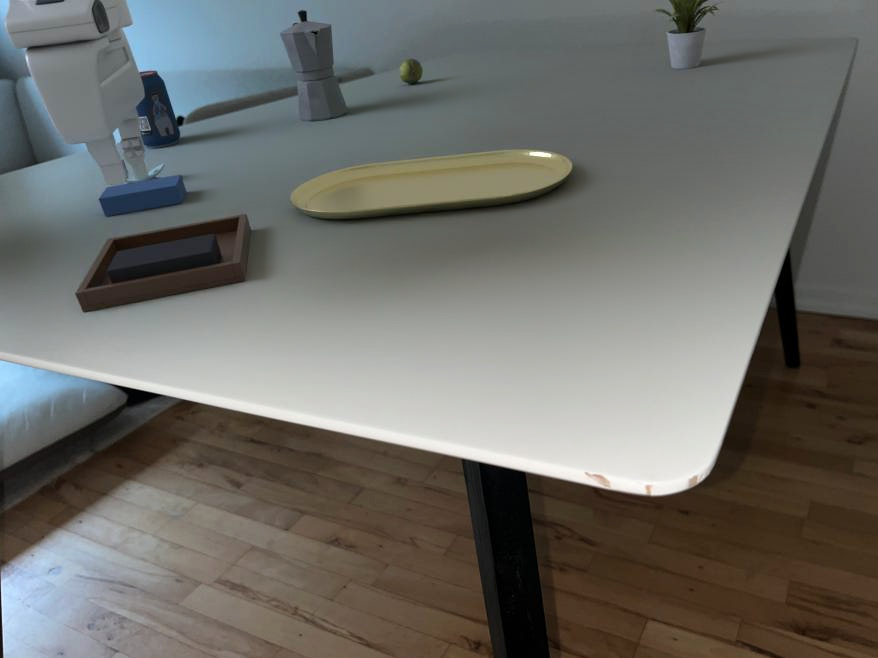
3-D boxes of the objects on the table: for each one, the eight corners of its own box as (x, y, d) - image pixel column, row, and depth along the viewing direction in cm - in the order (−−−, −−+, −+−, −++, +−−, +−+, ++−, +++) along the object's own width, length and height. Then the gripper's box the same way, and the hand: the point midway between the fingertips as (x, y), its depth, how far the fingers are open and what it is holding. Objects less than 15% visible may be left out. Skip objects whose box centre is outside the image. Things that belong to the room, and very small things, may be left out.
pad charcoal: (115, 293, 73) (106, 270, 72) (125, 272, 78) (117, 251, 77) (218, 274, 75) (210, 251, 74) (221, 254, 80) (214, 233, 78)
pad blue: (105, 216, 98) (98, 198, 97) (113, 204, 103) (106, 186, 102) (182, 203, 100) (176, 185, 98) (186, 191, 104) (181, 174, 103)
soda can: (156, 139, 137) (134, 71, 131) (189, 137, 135) (168, 68, 129) (134, 150, 131) (110, 79, 125) (169, 148, 130) (145, 76, 123)
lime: (398, 86, 156) (394, 61, 153) (412, 81, 159) (408, 56, 156) (414, 86, 153) (410, 61, 151) (428, 81, 157) (425, 56, 154)
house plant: (710, 75, 131) (714, -28, 122) (636, 75, 138) (635, -23, 129) (734, 59, 140) (740, -38, 132) (664, 59, 148) (666, -32, 139)
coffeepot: (358, 115, 135) (338, 7, 126) (308, 126, 132) (284, 16, 123) (334, 103, 148) (314, 4, 138) (288, 113, 144) (264, 12, 135)
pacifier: (169, 186, 108) (169, 175, 113) (155, 144, 105) (155, 134, 110) (117, 197, 106) (118, 185, 111) (100, 154, 103) (103, 144, 108)
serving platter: (578, 202, 82) (578, 188, 82) (275, 231, 86) (271, 218, 85) (568, 155, 98) (567, 143, 98) (312, 180, 102) (310, 169, 101)
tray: (82, 312, 72) (74, 293, 71) (113, 254, 85) (107, 238, 84) (245, 280, 74) (239, 262, 73) (251, 229, 87) (246, 213, 86)
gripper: (65, 6, 72) (114, 147, 79) (-4, 27, 55) (67, 206, 62) (132, -3, 73) (175, 138, 80) (84, 16, 56) (145, 193, 63)
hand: (128, 168), depth 71 cm, fingers open, 8 cm apart
